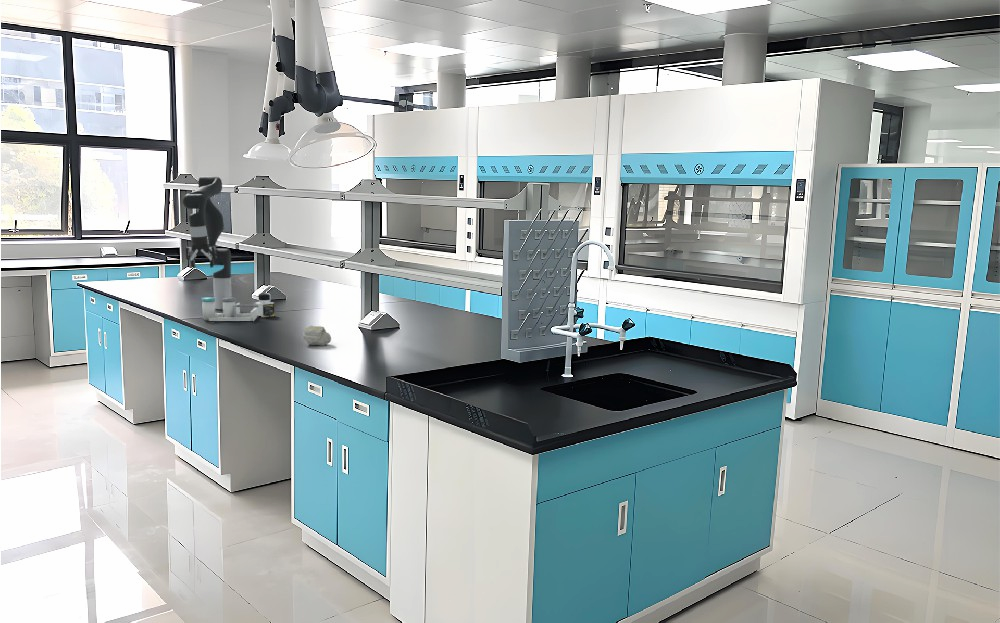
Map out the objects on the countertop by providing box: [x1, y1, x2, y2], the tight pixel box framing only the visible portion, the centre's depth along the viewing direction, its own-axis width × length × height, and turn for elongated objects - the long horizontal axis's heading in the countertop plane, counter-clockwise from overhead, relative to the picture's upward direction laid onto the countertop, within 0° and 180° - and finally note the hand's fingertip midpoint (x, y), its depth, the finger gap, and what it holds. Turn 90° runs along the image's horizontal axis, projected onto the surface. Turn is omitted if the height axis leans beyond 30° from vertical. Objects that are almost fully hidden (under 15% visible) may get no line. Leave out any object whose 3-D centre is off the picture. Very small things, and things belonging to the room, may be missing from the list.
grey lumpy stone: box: [302, 325, 332, 347], centre depth 336 cm, size 12×8×10 cm
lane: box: [208, 307, 258, 322], centre depth 391 cm, size 16×21×5 cm
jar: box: [201, 296, 216, 321], centre depth 388 cm, size 6×6×11 cm
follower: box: [234, 302, 258, 317], centre depth 391 cm, size 10×11×8 cm
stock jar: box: [222, 296, 236, 317], centre depth 390 cm, size 6×6×11 cm
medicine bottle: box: [254, 292, 275, 318], centre depth 403 cm, size 7×7×12 cm
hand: (202, 267), depth 376 cm, fingers open, 8 cm apart
